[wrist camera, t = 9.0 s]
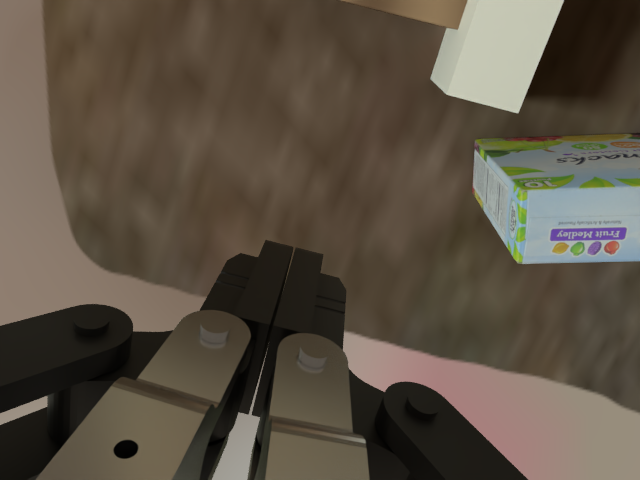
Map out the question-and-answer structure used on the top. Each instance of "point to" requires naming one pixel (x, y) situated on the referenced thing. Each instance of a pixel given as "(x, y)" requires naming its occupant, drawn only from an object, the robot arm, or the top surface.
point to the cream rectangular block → (495, 51)
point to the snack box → (562, 196)
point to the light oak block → (420, 10)
